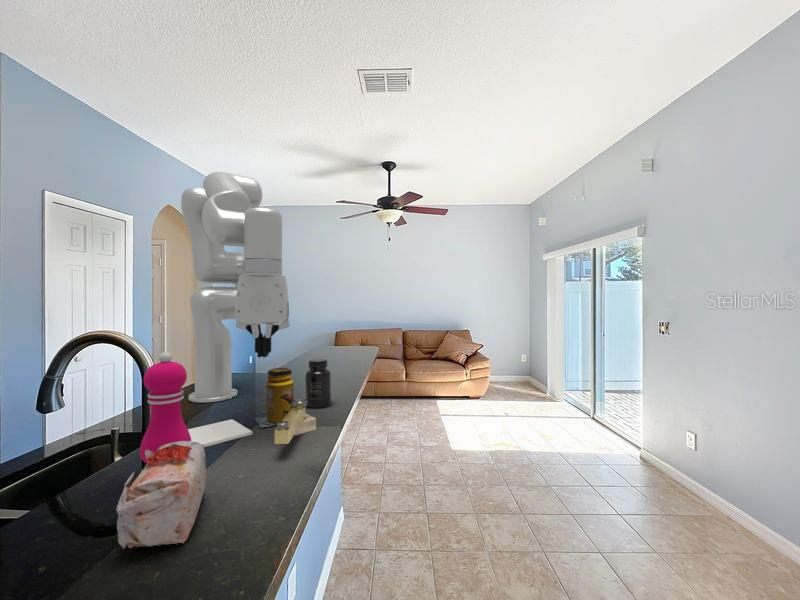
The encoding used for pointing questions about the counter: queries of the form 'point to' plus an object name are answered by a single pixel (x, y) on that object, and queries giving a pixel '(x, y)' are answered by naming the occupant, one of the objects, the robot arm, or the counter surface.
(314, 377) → the supplement bottle
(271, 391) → the condiment
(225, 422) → the plate
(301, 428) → the block
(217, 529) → the counter surface
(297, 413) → the lever
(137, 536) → the food item
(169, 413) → the pepper mill
